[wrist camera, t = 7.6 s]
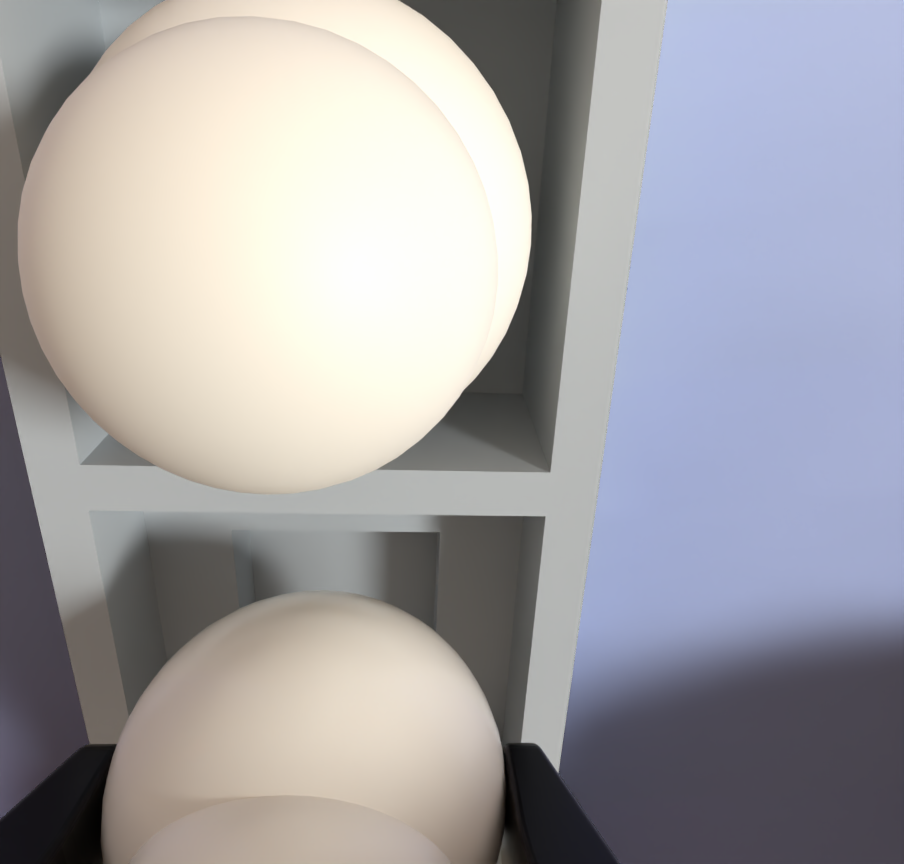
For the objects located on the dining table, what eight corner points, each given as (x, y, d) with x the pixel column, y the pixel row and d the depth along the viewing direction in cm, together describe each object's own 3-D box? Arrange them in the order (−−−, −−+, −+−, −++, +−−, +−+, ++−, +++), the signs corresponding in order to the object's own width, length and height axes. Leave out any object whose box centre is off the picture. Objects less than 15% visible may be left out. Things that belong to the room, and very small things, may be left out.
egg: (480, 764, 11) (532, 1324, 6) (192, 766, 11) (-5, 1349, 6) (499, 522, 10) (594, 1029, 4) (156, 518, 9) (-174, 1048, 4)
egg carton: (581, -57, 10) (1005, -456, 3) (481, 984, 20) (516, 1484, 13) (98, -85, 10) (-858, -624, 2) (242, 990, 20) (141, 1506, 13)
